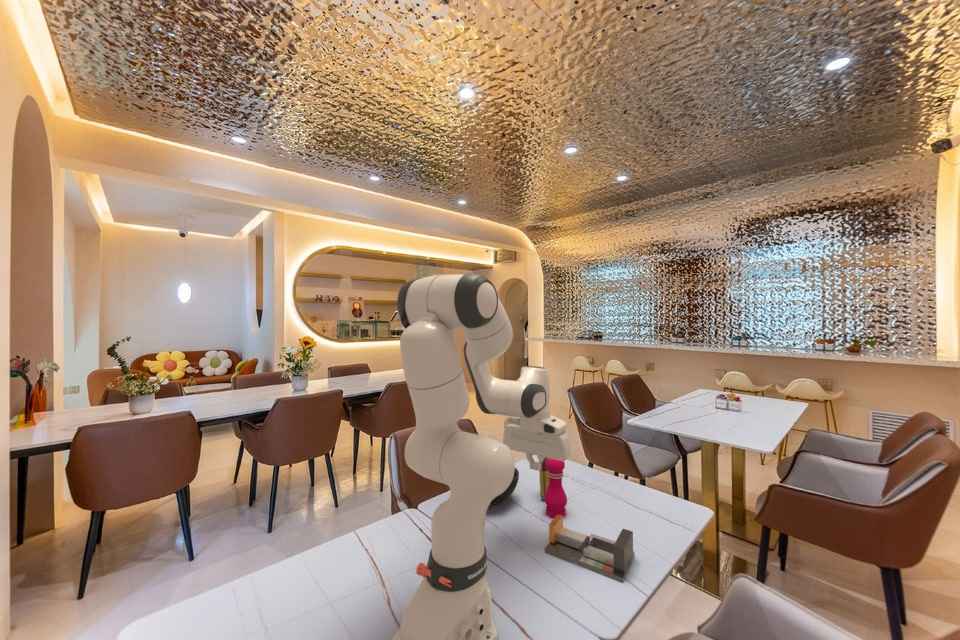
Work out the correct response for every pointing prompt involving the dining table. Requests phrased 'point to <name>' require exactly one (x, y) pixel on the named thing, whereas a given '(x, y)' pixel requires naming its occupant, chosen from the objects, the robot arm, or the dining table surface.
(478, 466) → the robot arm
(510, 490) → the coal bowl
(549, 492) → the pepper mill
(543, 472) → the sauce bottle
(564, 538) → the plunger
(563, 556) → the bench
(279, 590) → the dining table surface
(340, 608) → the dining table surface
